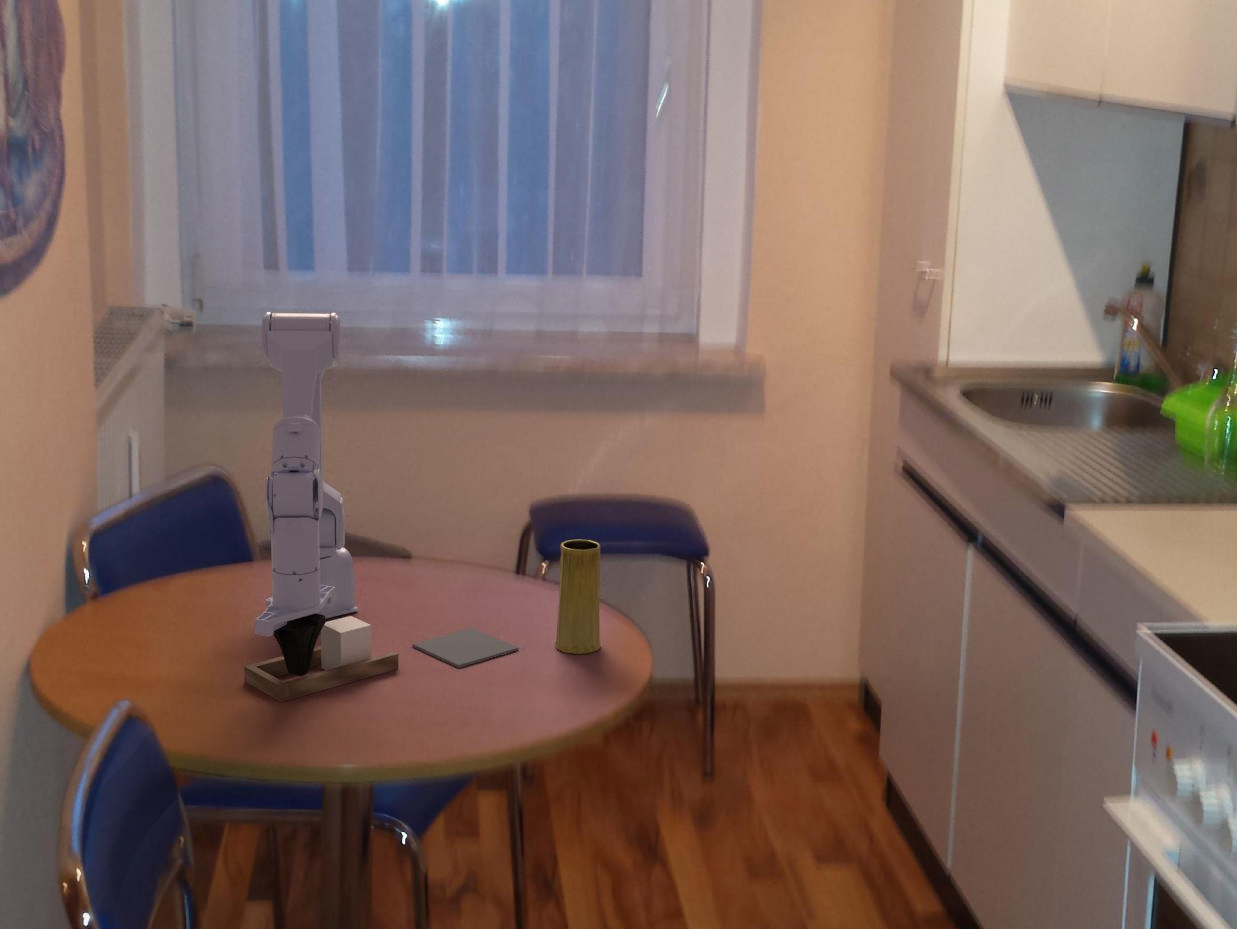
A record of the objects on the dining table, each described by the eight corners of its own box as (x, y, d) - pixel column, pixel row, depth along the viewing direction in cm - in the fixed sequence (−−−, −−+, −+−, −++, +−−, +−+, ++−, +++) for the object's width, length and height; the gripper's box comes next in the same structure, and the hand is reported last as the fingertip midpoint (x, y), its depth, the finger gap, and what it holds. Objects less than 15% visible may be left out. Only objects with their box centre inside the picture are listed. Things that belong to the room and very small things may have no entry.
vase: (610, 647, 191) (613, 545, 188) (577, 658, 187) (580, 554, 183) (577, 635, 195) (580, 535, 192) (545, 646, 191) (547, 544, 187)
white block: (351, 660, 184) (350, 615, 183) (371, 669, 181) (370, 625, 179) (321, 668, 181) (320, 623, 179) (341, 678, 178) (340, 632, 176)
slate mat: (471, 630, 196) (471, 627, 196) (518, 650, 189) (518, 647, 189) (412, 646, 189) (412, 643, 189) (458, 668, 182) (459, 665, 182)
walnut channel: (360, 650, 187) (360, 635, 187) (398, 668, 181) (398, 653, 181) (244, 681, 175) (244, 666, 175) (281, 702, 170) (280, 686, 169)
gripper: (301, 548, 181) (303, 649, 184) (231, 579, 167) (235, 688, 170) (349, 555, 178) (351, 657, 181) (282, 588, 165) (285, 697, 168)
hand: (298, 673), depth 176 cm, fingers closed
